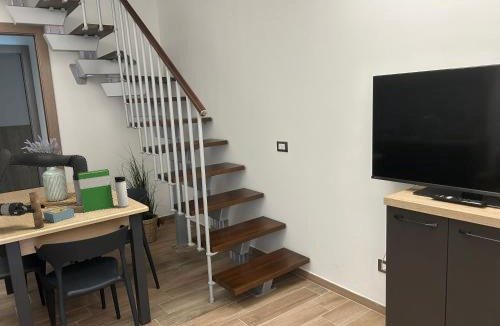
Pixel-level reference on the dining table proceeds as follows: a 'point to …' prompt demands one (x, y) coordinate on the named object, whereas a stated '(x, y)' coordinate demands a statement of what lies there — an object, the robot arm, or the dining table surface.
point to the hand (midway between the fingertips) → (39, 208)
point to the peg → (36, 210)
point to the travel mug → (121, 192)
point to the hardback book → (95, 190)
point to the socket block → (58, 214)
